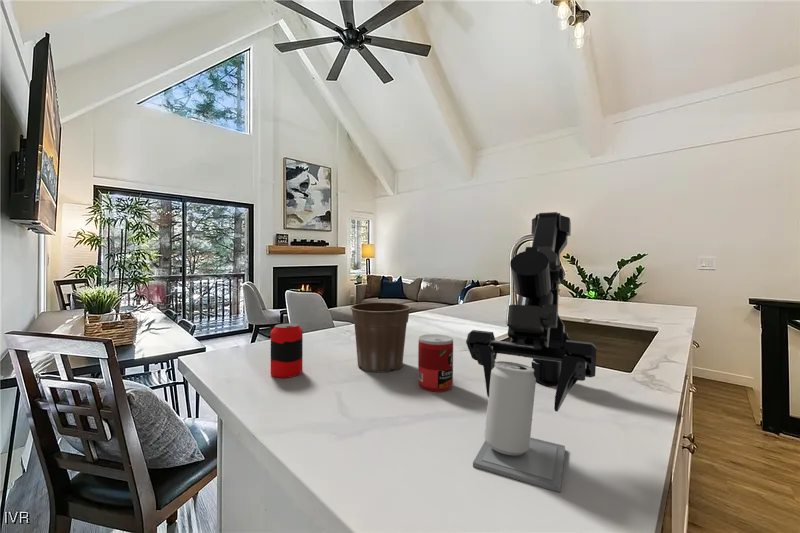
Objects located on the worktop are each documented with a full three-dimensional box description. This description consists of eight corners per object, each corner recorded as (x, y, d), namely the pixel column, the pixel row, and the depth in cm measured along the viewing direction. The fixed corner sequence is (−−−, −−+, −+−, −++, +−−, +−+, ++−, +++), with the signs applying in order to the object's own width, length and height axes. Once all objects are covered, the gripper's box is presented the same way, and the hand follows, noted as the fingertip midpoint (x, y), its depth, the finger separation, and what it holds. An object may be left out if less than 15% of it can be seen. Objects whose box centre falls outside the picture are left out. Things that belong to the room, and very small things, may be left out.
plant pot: (411, 376, 85) (411, 310, 85) (345, 375, 85) (345, 310, 85) (409, 357, 101) (410, 302, 101) (354, 356, 101) (355, 302, 101)
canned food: (444, 395, 73) (444, 343, 73) (411, 387, 78) (412, 338, 77) (458, 384, 80) (458, 336, 80) (427, 377, 84) (427, 332, 84)
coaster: (492, 431, 58) (492, 427, 58) (565, 449, 52) (565, 445, 52) (472, 466, 48) (472, 461, 48) (559, 492, 43) (560, 486, 43)
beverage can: (537, 459, 48) (545, 373, 49) (493, 457, 48) (502, 369, 48) (516, 438, 55) (524, 362, 55) (477, 435, 54) (485, 358, 54)
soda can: (276, 380, 81) (276, 329, 81) (266, 372, 87) (266, 324, 87) (307, 374, 86) (307, 326, 86) (295, 366, 92) (295, 321, 92)
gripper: (470, 282, 58) (445, 364, 49) (597, 287, 49) (597, 389, 40) (482, 321, 66) (462, 399, 56) (595, 331, 57) (594, 427, 47)
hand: (521, 403), depth 50 cm, fingers open, 9 cm apart
